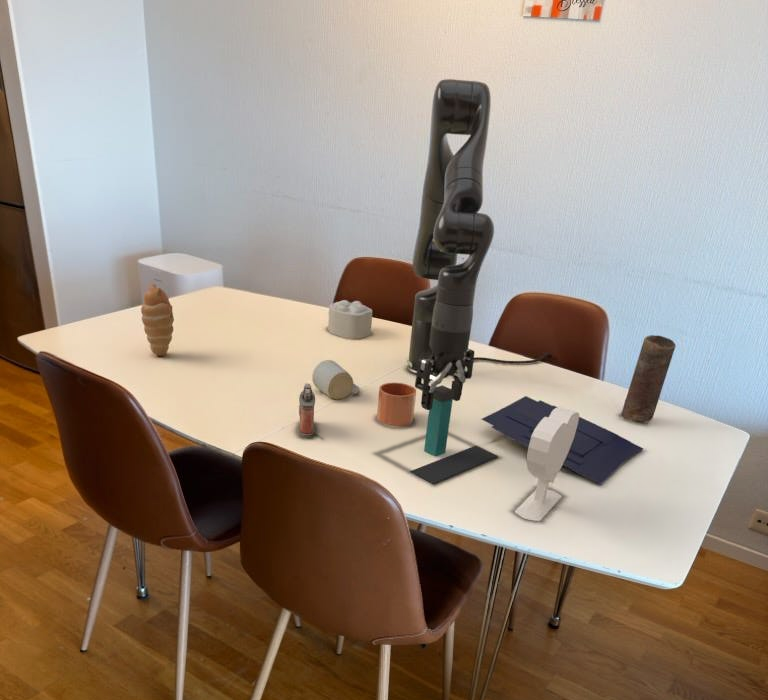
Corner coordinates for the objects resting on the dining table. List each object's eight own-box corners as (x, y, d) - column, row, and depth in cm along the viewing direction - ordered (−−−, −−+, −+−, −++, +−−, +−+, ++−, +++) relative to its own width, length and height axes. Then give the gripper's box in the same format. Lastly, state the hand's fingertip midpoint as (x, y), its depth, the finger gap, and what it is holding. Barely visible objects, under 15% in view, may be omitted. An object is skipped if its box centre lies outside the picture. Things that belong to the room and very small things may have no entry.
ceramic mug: (328, 403, 167) (330, 372, 163) (310, 391, 173) (312, 361, 169) (365, 397, 173) (368, 367, 169) (347, 385, 178) (349, 356, 174)
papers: (526, 404, 174) (530, 390, 172) (639, 458, 161) (645, 444, 159) (473, 432, 157) (477, 417, 155) (595, 495, 144) (601, 481, 142)
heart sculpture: (541, 484, 141) (560, 399, 132) (565, 492, 139) (586, 407, 130) (510, 516, 130) (528, 425, 120) (535, 525, 128) (556, 434, 118)
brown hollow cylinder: (652, 417, 177) (676, 338, 166) (652, 428, 171) (676, 347, 160) (621, 410, 179) (642, 332, 168) (619, 421, 173) (642, 340, 162)
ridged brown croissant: (181, 359, 185) (176, 288, 175) (151, 362, 181) (144, 290, 171) (169, 348, 191) (164, 279, 181) (139, 351, 187) (133, 281, 177)
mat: (441, 430, 160) (442, 429, 159) (497, 457, 150) (498, 455, 150) (377, 453, 147) (377, 451, 147) (433, 484, 138) (433, 482, 137)
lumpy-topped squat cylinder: (354, 340, 209) (356, 311, 205) (320, 330, 215) (321, 301, 210) (374, 333, 217) (377, 304, 212) (340, 323, 222) (342, 295, 218)
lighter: (298, 422, 157) (299, 379, 152) (314, 422, 158) (315, 379, 152) (298, 438, 150) (299, 393, 145) (314, 438, 151) (315, 394, 146)
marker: (434, 447, 151) (442, 385, 144) (445, 453, 149) (454, 390, 142) (423, 451, 149) (431, 388, 142) (435, 457, 147) (443, 393, 140)
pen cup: (394, 410, 167) (397, 380, 163) (420, 422, 162) (423, 391, 159) (369, 418, 162) (371, 387, 158) (394, 430, 157) (397, 399, 153)
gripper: (440, 336, 128) (430, 418, 137) (490, 324, 137) (477, 402, 146) (411, 324, 133) (403, 405, 141) (461, 314, 142) (450, 390, 150)
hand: (441, 404), depth 143 cm, fingers open, 8 cm apart
